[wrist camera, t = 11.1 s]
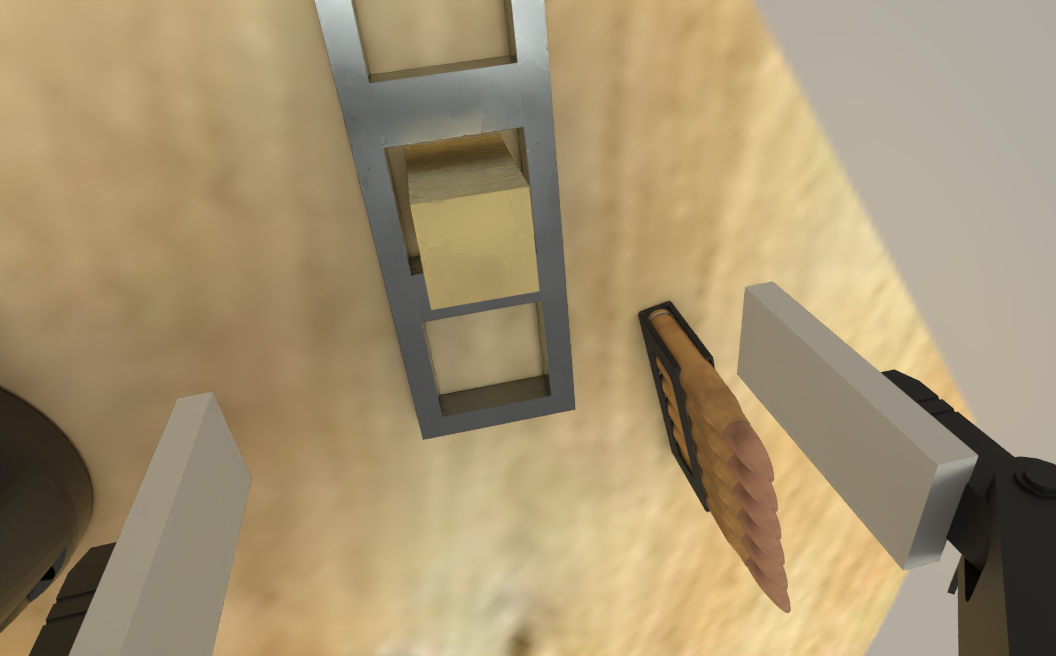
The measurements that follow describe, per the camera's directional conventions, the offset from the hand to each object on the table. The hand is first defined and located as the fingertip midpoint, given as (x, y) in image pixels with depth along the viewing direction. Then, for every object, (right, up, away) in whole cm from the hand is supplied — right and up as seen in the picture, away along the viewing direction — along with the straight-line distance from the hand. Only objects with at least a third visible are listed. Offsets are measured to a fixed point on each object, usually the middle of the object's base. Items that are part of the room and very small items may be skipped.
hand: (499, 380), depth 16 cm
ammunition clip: (+9, -2, +20) cm, 22 cm away
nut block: (-2, +8, +12) cm, 15 cm away
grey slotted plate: (-2, +7, +12) cm, 15 cm away
